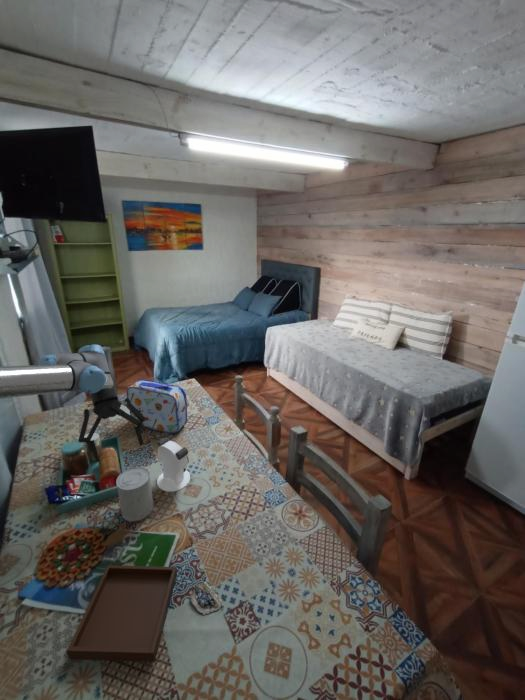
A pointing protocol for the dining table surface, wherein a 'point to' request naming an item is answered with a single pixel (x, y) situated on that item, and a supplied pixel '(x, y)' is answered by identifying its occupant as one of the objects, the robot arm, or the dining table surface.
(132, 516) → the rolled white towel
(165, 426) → the lunch box
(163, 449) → the white upright piece
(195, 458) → the dining table surface
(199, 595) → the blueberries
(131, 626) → the tray
